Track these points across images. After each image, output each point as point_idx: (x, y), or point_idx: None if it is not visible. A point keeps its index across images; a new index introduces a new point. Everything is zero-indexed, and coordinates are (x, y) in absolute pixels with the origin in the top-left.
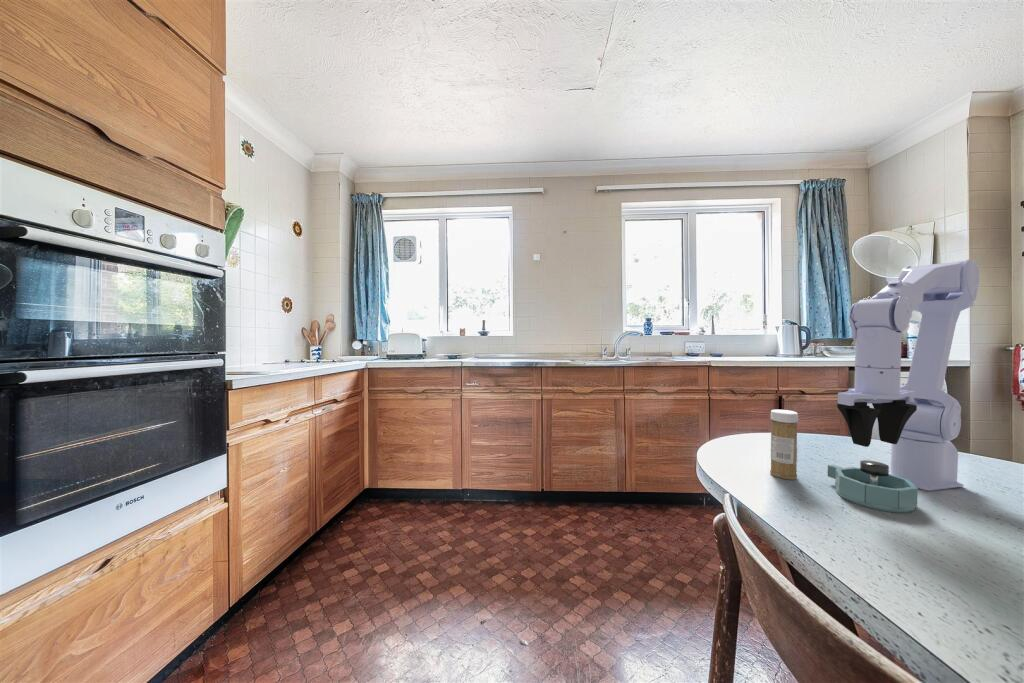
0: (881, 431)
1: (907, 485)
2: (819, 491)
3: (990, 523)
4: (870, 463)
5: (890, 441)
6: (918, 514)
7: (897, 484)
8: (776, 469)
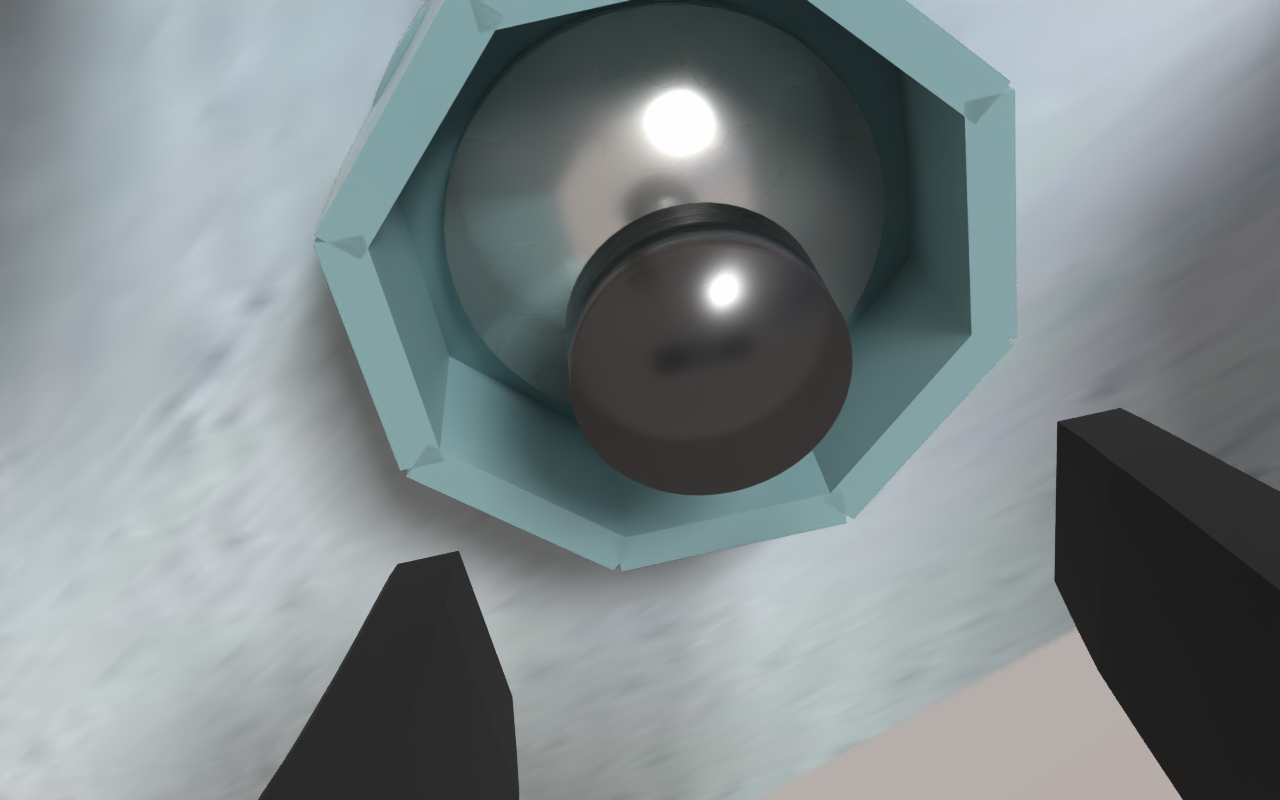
0: (1158, 541)
1: (888, 406)
2: (219, 8)
3: None
4: (673, 370)
5: (1065, 567)
6: None
7: (942, 249)
8: None
